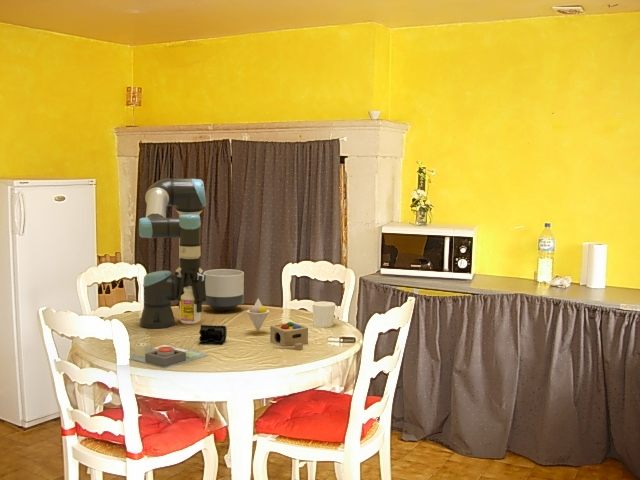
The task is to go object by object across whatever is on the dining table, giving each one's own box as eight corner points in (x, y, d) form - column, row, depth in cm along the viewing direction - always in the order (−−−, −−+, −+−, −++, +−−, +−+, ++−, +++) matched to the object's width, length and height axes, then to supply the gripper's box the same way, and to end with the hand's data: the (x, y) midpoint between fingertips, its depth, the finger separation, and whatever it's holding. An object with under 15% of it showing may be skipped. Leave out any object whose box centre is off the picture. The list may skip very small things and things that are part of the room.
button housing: (145, 361, 248) (145, 353, 247) (166, 355, 256) (166, 347, 255) (164, 367, 242) (164, 358, 242) (185, 360, 250) (185, 352, 250)
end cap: (226, 340, 280) (226, 324, 280) (223, 345, 273) (223, 328, 272) (202, 339, 281) (202, 323, 280) (198, 344, 274) (198, 327, 273)
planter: (248, 305, 345) (249, 270, 343) (235, 314, 326) (235, 276, 324) (212, 303, 349) (212, 268, 347) (197, 311, 331) (197, 274, 329)
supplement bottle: (180, 324, 252) (180, 289, 250) (180, 320, 258) (180, 285, 257) (199, 323, 253) (199, 289, 251) (198, 319, 259) (198, 285, 258)
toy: (265, 336, 288) (265, 300, 286) (243, 334, 289) (244, 299, 288) (271, 331, 297) (272, 296, 295) (250, 329, 299) (250, 295, 297)
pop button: (153, 360, 248) (153, 348, 248) (166, 356, 253) (166, 345, 252) (165, 363, 245) (165, 351, 244) (177, 359, 249) (177, 348, 249)
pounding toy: (258, 346, 274) (258, 325, 273) (288, 338, 287) (288, 318, 286) (291, 355, 262) (292, 333, 261) (321, 346, 276) (321, 326, 275)
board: (123, 358, 254) (123, 355, 253) (167, 345, 271) (167, 343, 271) (165, 369, 241) (165, 367, 241) (208, 356, 258) (208, 354, 258)
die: (135, 355, 254) (135, 344, 254) (141, 353, 258) (141, 342, 258) (144, 357, 253) (144, 346, 253) (150, 354, 257) (150, 343, 256)
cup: (308, 327, 305) (308, 304, 304) (317, 322, 314) (317, 300, 313) (329, 329, 301) (330, 307, 300) (337, 324, 311) (338, 302, 309)
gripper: (163, 255, 255) (163, 317, 258) (202, 261, 244) (202, 325, 247) (178, 253, 261) (179, 313, 264) (217, 258, 250) (216, 321, 253)
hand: (190, 319), depth 256 cm, fingers closed on supplement bottle, 7 cm apart
